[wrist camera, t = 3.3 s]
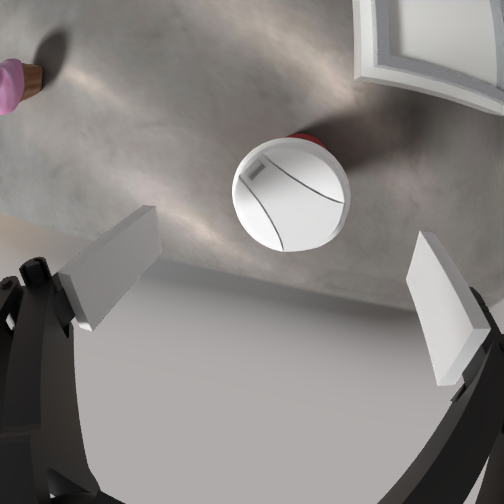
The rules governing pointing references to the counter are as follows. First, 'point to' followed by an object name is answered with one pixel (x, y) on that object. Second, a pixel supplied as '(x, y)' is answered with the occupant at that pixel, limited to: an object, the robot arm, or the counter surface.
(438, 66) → the square tray
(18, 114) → the counter surface
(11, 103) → the cupcake
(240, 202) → the paper cup
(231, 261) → the counter surface
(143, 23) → the counter surface
